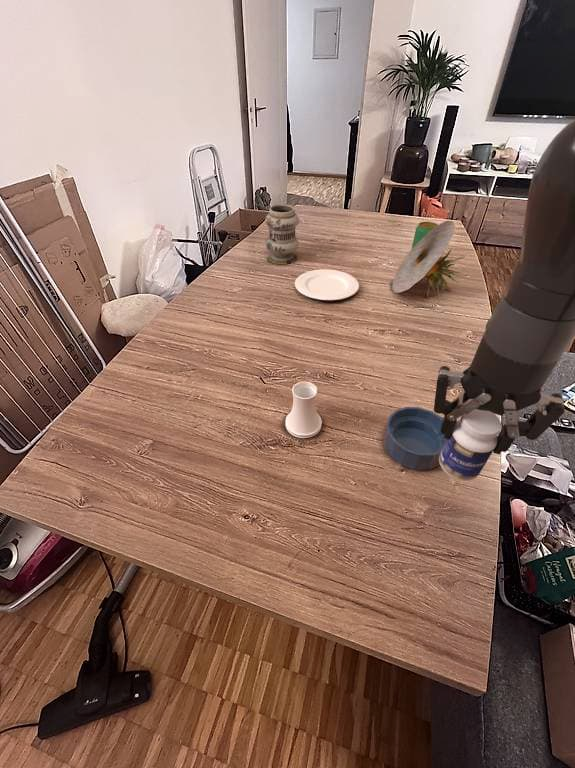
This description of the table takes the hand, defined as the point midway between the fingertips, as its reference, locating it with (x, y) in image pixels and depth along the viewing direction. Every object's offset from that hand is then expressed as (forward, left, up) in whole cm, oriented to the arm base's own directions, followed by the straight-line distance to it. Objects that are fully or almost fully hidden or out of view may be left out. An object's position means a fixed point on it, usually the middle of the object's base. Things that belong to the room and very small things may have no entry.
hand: (471, 441), depth 51 cm
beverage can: (+59, -88, -19) cm, 107 cm away
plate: (+67, -45, -19) cm, 83 cm away
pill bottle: (0, 0, -6) cm, 6 cm away
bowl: (+11, -10, -19) cm, 24 cm away
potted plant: (+45, -67, -19) cm, 83 cm away
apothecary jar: (+94, -50, -19) cm, 108 cm away
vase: (+30, +2, -19) cm, 36 cm away
